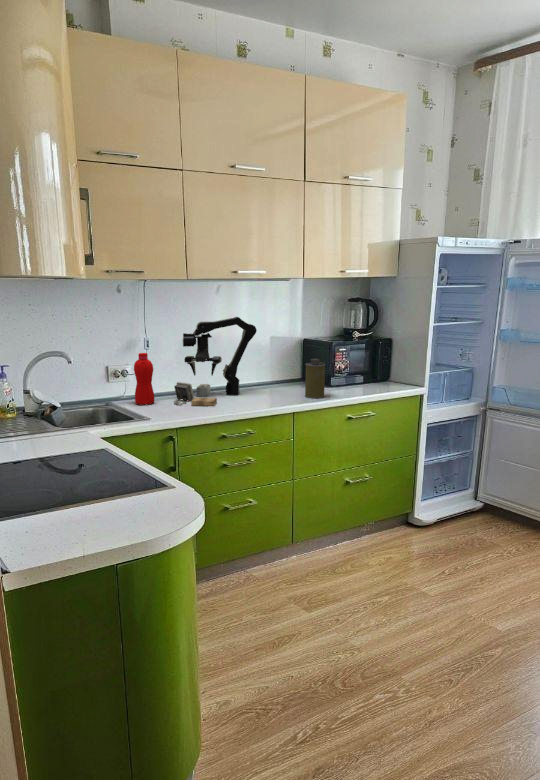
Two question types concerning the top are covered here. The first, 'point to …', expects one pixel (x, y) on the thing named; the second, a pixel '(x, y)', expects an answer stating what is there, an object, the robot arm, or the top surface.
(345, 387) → the top surface
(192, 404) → the stand
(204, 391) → the housing
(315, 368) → the canister
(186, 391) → the electrical switch
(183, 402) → the bolt
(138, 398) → the water bottle
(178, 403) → the bolt
